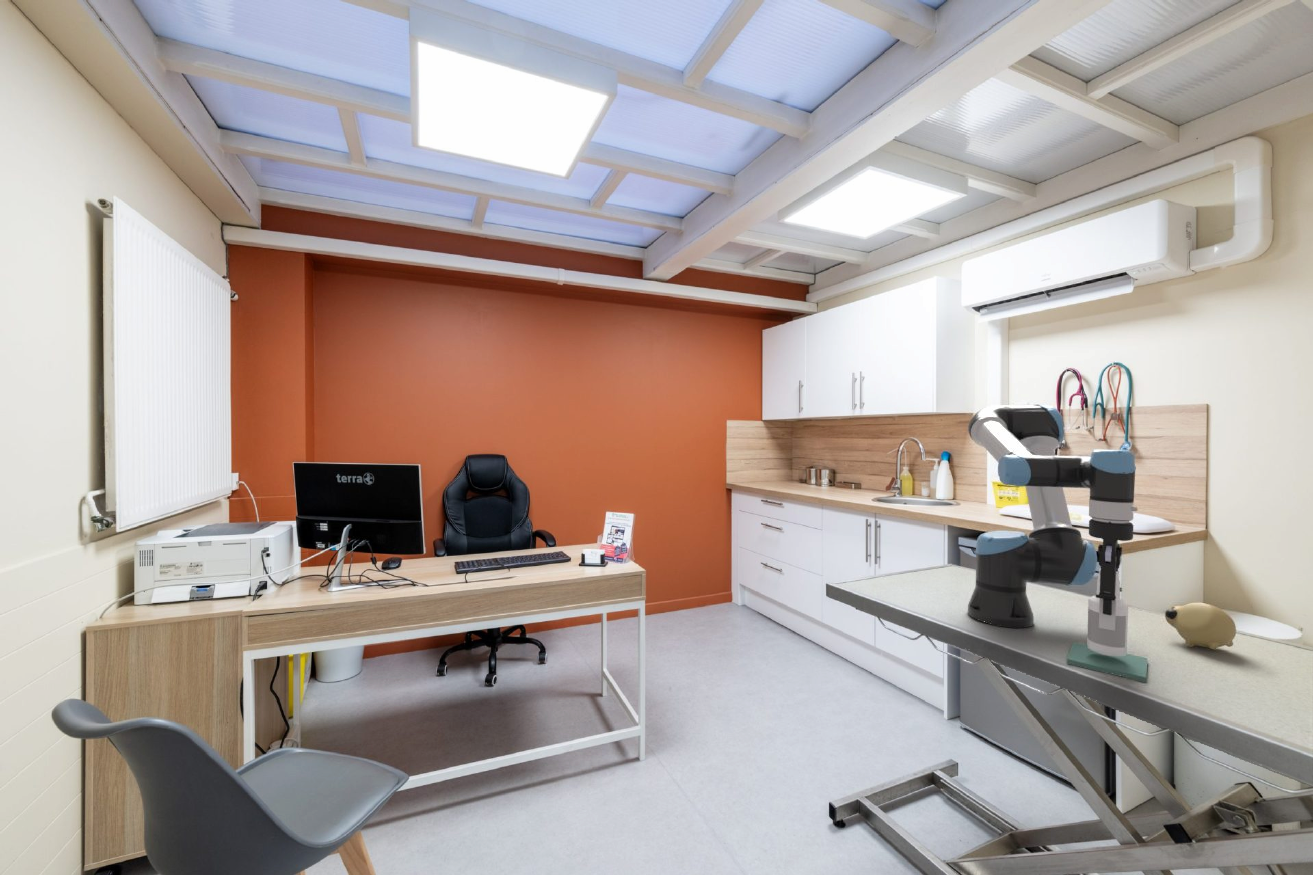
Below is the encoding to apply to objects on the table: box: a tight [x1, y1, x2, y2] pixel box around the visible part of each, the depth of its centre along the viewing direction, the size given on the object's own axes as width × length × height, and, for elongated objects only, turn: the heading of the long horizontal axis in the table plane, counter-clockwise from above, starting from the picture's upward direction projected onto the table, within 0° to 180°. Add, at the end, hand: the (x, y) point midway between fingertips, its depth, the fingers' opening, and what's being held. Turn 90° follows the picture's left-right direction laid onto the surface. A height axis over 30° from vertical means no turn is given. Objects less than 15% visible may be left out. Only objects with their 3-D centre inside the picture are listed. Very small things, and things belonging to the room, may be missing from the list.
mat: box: [1066, 642, 1148, 683], centre depth 121 cm, size 13×13×1 cm
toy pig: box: [1164, 602, 1237, 650], centre depth 131 cm, size 10×12×11 cm
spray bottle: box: [1086, 567, 1129, 657], centre depth 121 cm, size 7×7×18 cm
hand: (1108, 623), depth 121 cm, fingers closed on spray bottle, 7 cm apart
